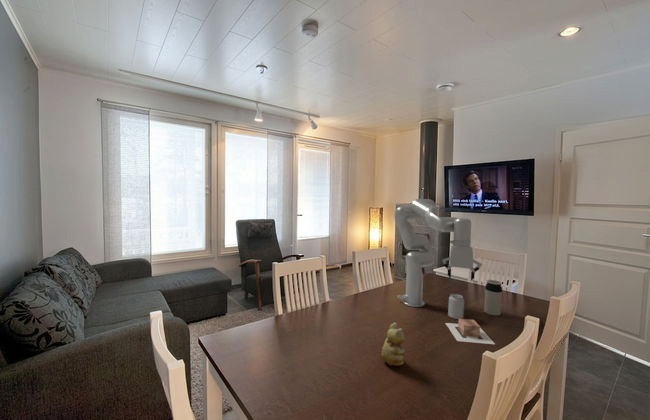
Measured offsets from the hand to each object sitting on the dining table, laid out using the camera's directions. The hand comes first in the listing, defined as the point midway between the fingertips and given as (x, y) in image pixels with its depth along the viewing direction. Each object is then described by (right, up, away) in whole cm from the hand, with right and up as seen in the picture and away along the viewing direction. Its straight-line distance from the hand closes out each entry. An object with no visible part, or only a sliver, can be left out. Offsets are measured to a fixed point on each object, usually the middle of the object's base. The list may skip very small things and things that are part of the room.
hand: (460, 278), depth 137 cm
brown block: (+2, -25, -4) cm, 25 cm away
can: (+4, -25, +14) cm, 29 cm away
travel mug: (+28, -25, +21) cm, 43 cm away
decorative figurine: (-40, -26, -29) cm, 56 cm away
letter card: (+2, -25, -4) cm, 25 cm away
